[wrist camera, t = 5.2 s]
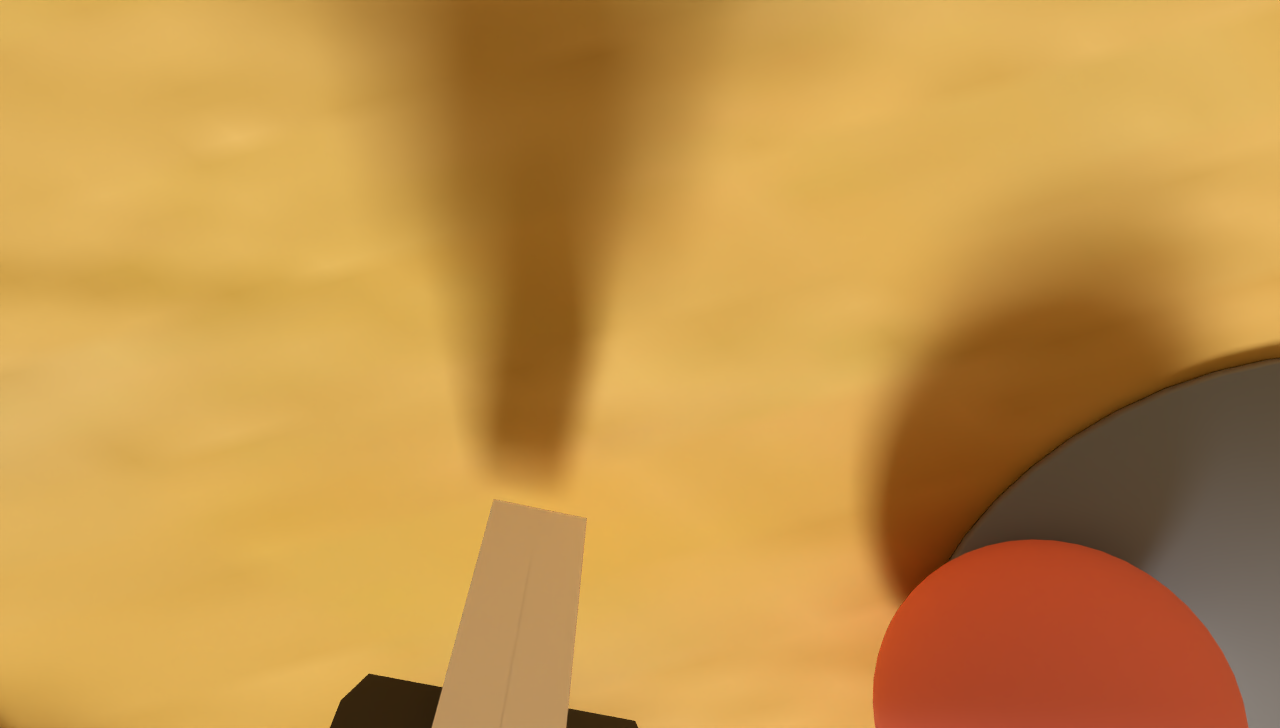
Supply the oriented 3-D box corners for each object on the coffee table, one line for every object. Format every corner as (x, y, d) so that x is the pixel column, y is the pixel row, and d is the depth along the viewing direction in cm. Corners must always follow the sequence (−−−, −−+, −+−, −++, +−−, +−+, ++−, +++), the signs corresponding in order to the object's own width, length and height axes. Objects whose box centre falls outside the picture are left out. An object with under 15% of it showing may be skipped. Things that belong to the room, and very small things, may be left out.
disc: (776, 728, 19) (777, 736, 19) (1280, 204, 15) (1288, 207, 14) (1220, 962, 22) (1225, 971, 22) (1752, 584, 17) (1764, 591, 17)
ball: (1198, 765, 17) (924, 609, 20) (1351, 586, 14) (993, 423, 16) (1110, 1046, 14) (792, 817, 16) (1282, 906, 10) (843, 639, 13)
